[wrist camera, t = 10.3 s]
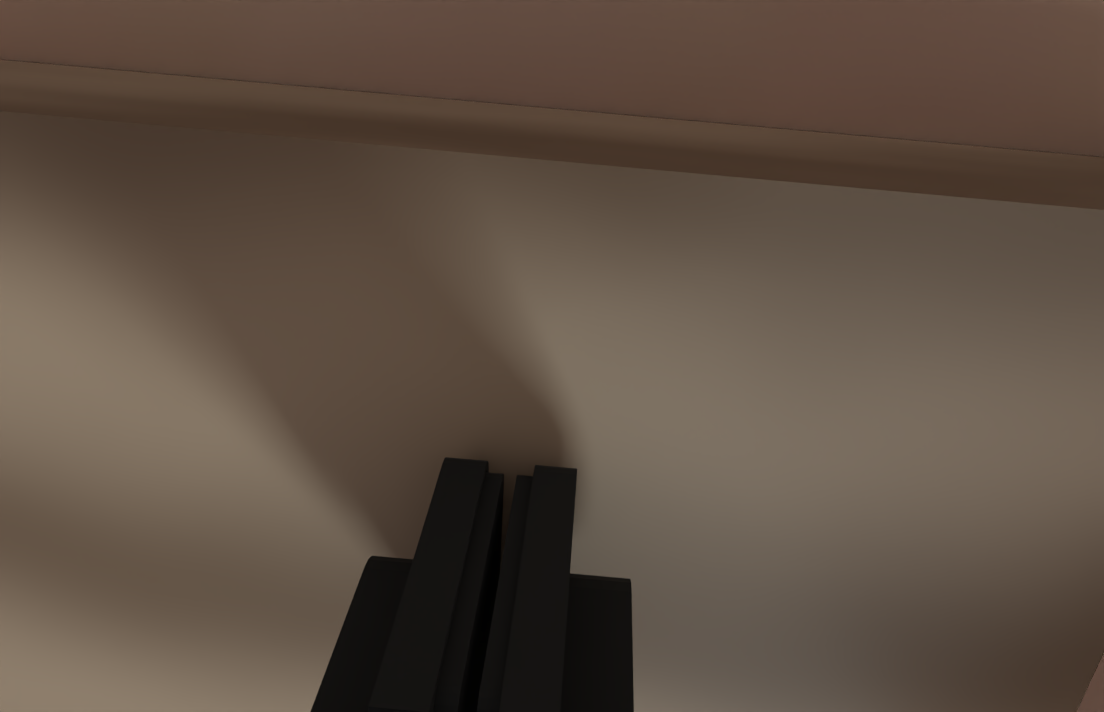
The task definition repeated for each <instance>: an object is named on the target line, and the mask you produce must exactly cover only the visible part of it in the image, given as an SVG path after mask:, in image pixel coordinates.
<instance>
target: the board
mask: <svg viewBox="0 0 1104 712" xmlns="http://www.w3.org/2000/svg"><path fill="white" fill-rule="evenodd" d="M446 457H449V458H460V459H472V460H484V461H488V463H489V473H501V474H504V493H503V515H502V538H501V561H500V569H501V563H502V558H503V552H504V546H505V540H506V534H507V529H508V523H509V517H510V511H511V505H512V500H513V494H514V488H515V482H516V477H517V475H524V476H533V473H534V467H535V465H542V466H553V467H565V468H577V481H576V495H575V509H574V523H573V537H572V552H571V566H570V573H572V574H583V575H594V576H605V577H617V578H628V579H630V580H631V588H632V636H633V689H634V712H1077V709H1078V707H1079V705H1080V703H1081V701H1082V699H1083V696H1084V694H1085V692H1086V690H1087V688H1088V686H1089V683H1090V681H1091V679H1092V677H1093V675H1094V672H1095V670H1096V668H1097V666H1098V664H1099V662H1100V659H1101V657H1102V655H1103V653H1104V157H1094V156H1083V155H1072V154H1061V153H1049V152H1038V151H1027V150H1015V149H1004V148H993V147H981V146H970V145H959V144H948V143H936V142H925V141H914V140H902V139H891V138H880V137H868V136H857V135H846V134H834V133H823V132H812V131H801V130H789V129H778V128H767V127H755V126H744V125H733V124H721V123H710V122H699V121H688V120H676V119H665V118H654V117H642V116H631V115H620V114H608V113H597V112H586V111H574V110H563V109H552V108H541V107H529V106H518V105H507V104H495V103H484V102H473V101H461V100H450V99H439V98H428V97H416V96H405V95H394V94H382V93H371V92H360V91H348V90H337V89H326V88H314V87H303V86H292V85H281V84H269V83H258V82H247V81H235V80H224V79H213V78H201V77H190V76H179V75H168V74H156V73H145V72H134V71H122V70H111V69H100V68H88V67H77V66H66V65H54V64H43V63H32V62H21V61H9V60H0V712H311V709H312V706H313V704H314V701H315V698H316V696H317V693H318V690H319V687H320V685H321V682H322V679H323V677H324V674H325V671H326V669H327V666H328V663H329V661H330V658H331V655H332V653H333V650H334V647H335V645H336V642H337V639H338V637H339V634H340V631H341V628H342V626H343V623H344V620H345V618H346V615H347V612H348V610H349V607H350V604H351V602H352V599H353V596H354V594H355V591H356V588H357V586H358V583H359V580H360V578H361V575H362V572H363V569H364V567H365V565H366V563H367V561H368V559H369V558H370V557H371V556H382V557H393V558H404V559H413V558H414V555H415V552H416V549H417V545H418V542H419V539H420V535H421V532H422V529H423V526H424V522H425V519H426V516H427V512H428V509H429V506H430V503H431V499H432V496H433V493H434V489H435V486H436V483H437V480H438V476H439V473H440V470H441V466H442V463H443V461H444V458H446Z"/></svg>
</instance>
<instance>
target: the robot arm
mask: <svg viewBox="0 0 1104 712" xmlns="http://www.w3.org/2000/svg"><path fill="white" fill-rule="evenodd" d="M576 481H577V468H565V467H553V466H542V465H535V467H534V473H533V476H524V475H517V477H516V482H515V488H514V494H513V500H512V505H511V511H510V517H509V523H508V529H507V534H506V540H505V546H504V552H503V558H502V563H501V569H500V561H501V538H502V515H503V493H504V474H501V473H489V463H488V461H484V460H472V459H460V458H449V457H446V458H444V461H443V463H442V466H441V470H440V473H439V476H438V480H437V483H436V486H435V489H434V493H433V496H432V499H431V503H430V506H429V509H428V512H427V516H426V519H425V522H424V526H423V529H422V532H421V535H420V539H419V542H418V545H417V549H416V552H415V555H414V558H413V559H404V558H393V557H382V556H371V557H370V558H369V559H368V561H367V563H366V565H365V567H364V569H363V572H362V575H361V578H360V580H359V583H358V586H357V588H356V591H355V594H354V596H353V599H352V602H351V604H350V607H349V610H348V612H347V615H346V618H345V620H344V623H343V626H342V628H341V631H340V634H339V637H338V639H337V642H336V645H335V647H334V650H333V653H332V655H331V658H330V661H329V663H328V666H327V669H326V671H325V674H324V677H323V679H322V682H321V685H320V687H319V690H318V693H317V696H316V698H315V701H314V704H313V706H312V709H311V712H634V689H633V636H632V588H631V580H630V579H628V578H617V577H605V576H594V575H583V574H572V573H570V566H571V552H572V537H573V523H574V509H575V495H576Z"/></svg>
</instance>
